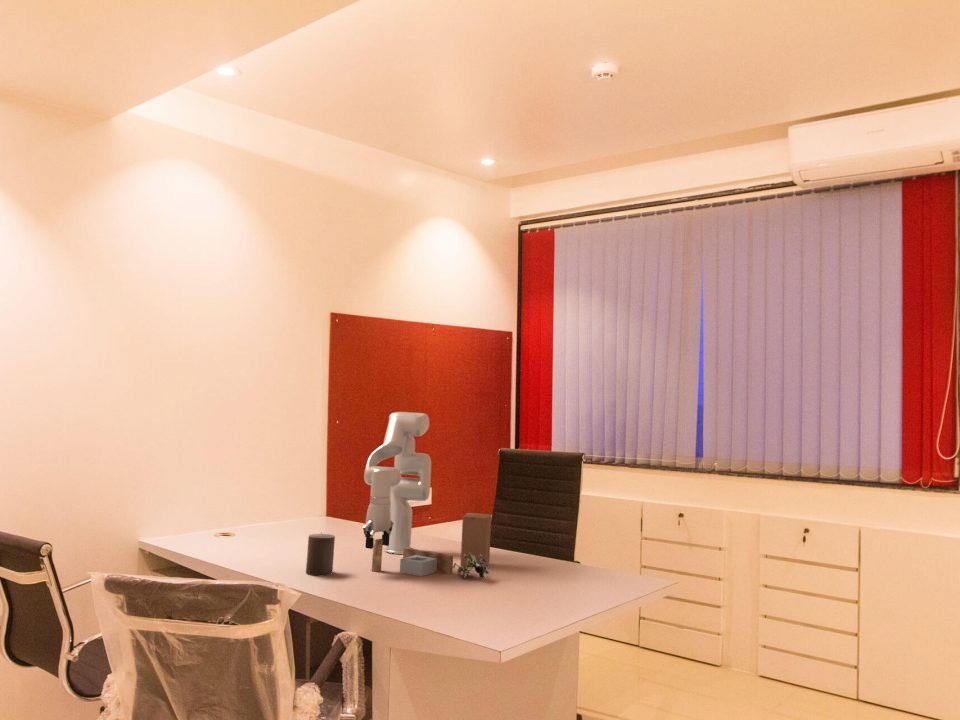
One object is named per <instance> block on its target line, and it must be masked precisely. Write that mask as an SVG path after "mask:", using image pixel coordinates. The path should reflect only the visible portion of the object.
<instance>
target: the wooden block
mask: <svg viewBox="0 0 960 720" xmlns="http://www.w3.org/2000/svg"><path fill="white" fill-rule="evenodd" d="M461 524H462V526H461V527H462V528H461V529H462V530H461V545H460V546H461V548H460V565H459V566H463V565H464V564H465V565H467V559H466V558H465V556H464V555H466V556H468V557H469V555H468V553H471V555H474V556H475V557H476V558H477V559H479V560H481V558H480V557H479V555H480V554H481V555H482V556H483V557H484V558H485V560H486V562H484V561H483V560H481V561H482V562H484V563H483V565H486V567H487V566H488V565H489V564H490V555H491V554H490V552H491V550H490V549H491V532H492V530H491V529H492V514H489V513H488V514H487V513H478V512H477V513H476V512H475V513H474V512H467V513H465V514H464V515H463V516H462V523H461ZM471 567H472V565H469V568H471Z"/></svg>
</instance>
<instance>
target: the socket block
mask: <svg viewBox="0 0 960 720" xmlns="http://www.w3.org/2000/svg"><path fill="white" fill-rule="evenodd" d="M399 562H400V563H399V564H400V566H399V573H402V574H408V575H411V574H412V575H411V576H417V577H424V576H428V575H430V574H435V573H438V572H437V559H436V558H430V557H424V556H419V555H414V556H410V557H406V558H403V557H402V558H400V561H399Z"/></svg>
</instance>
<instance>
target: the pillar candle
mask: <svg viewBox="0 0 960 720" xmlns="http://www.w3.org/2000/svg"><path fill="white" fill-rule="evenodd" d="M335 537H336V536H335V535H334V534H329V533H323V532H321V533H311V534H308V541H307V551H306V552H307V555H306V565H305V573H306V574H307V575H309V574H310V575H311V576H317V575H323V576H328V575H327V574H330V575H332V574H333V570H334V568H333V567H334V556H335V555H334V553H335V540H336V539H335ZM331 573H332V574H331Z"/></svg>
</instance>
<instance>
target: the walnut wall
mask: <svg viewBox="0 0 960 720" xmlns="http://www.w3.org/2000/svg"><path fill="white" fill-rule="evenodd" d="M412 548H413V547H411V548H404V550H403V554H402V558H406V557H410V556H414V555H419V556H424V557H430V558H436V559H437V572H436V573H440V574H445V575H453V572H454V568H453V566H454V555H453V554H448V553H442V552H441V553H440V552H435V551H429V550H424V549H423V550H422V549H417V548H413V549H412Z"/></svg>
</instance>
